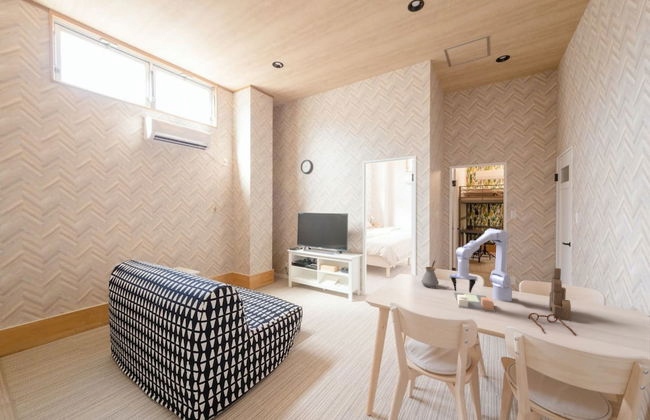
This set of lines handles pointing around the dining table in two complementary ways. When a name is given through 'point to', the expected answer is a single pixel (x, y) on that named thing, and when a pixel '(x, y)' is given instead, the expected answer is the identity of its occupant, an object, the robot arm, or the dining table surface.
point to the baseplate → (473, 302)
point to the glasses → (548, 320)
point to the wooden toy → (559, 297)
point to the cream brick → (462, 300)
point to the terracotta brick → (487, 303)
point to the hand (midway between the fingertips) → (462, 291)
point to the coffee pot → (430, 277)
